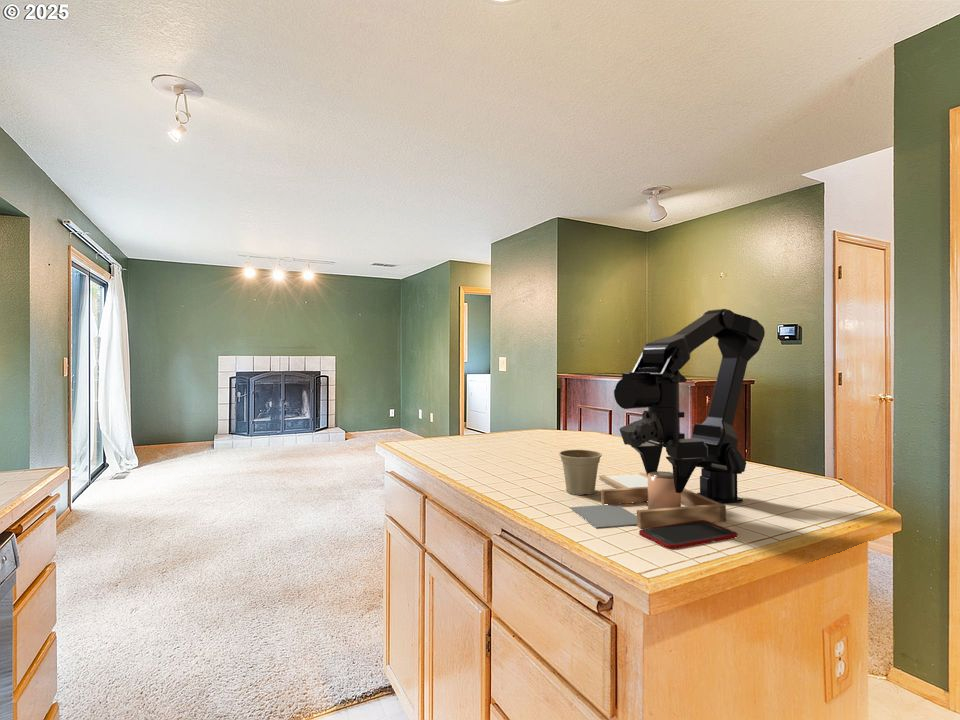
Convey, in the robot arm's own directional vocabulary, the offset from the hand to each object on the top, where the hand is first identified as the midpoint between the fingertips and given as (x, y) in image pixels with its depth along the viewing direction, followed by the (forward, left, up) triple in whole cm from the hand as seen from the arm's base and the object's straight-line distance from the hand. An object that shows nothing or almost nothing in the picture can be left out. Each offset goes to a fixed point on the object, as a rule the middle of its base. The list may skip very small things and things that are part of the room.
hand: (664, 486), depth 95 cm
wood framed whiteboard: (-5, -18, -5) cm, 19 cm away
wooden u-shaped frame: (+1, 0, -5) cm, 5 cm away
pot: (0, 0, -5) cm, 5 cm away
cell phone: (+4, +13, -5) cm, 14 cm away
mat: (+12, 0, -5) cm, 13 cm away
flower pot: (+10, -17, -5) cm, 20 cm away
